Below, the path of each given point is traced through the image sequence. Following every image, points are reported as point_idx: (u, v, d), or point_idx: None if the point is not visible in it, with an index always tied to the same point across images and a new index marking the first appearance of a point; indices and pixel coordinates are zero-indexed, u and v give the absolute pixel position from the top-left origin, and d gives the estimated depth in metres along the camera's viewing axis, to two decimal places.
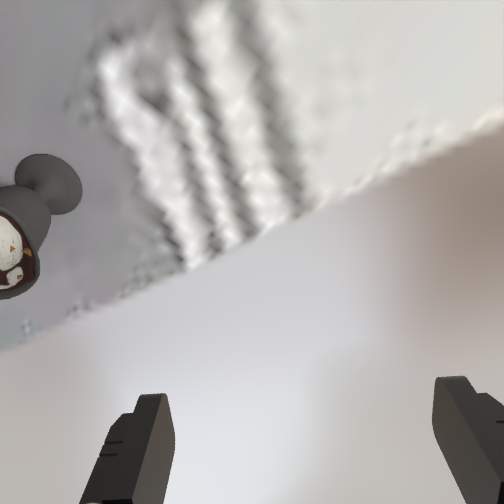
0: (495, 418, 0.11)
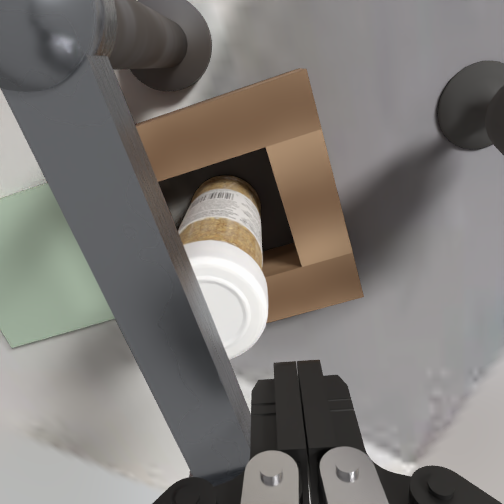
0: (335, 396, 0.13)
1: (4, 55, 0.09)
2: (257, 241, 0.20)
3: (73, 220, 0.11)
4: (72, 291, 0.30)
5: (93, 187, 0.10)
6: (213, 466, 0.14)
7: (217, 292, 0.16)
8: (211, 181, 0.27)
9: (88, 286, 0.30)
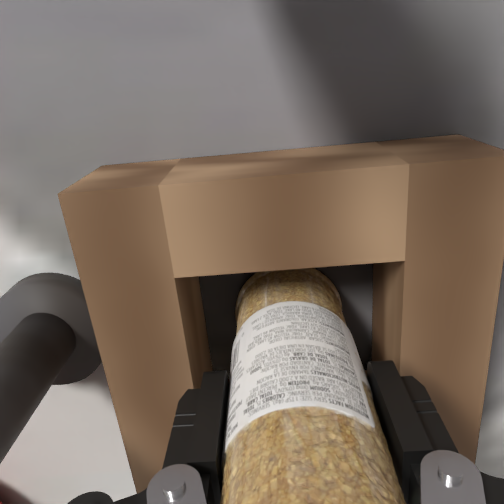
0: (414, 398, 0.12)
1: None
2: (288, 407, 0.10)
3: None
4: None
5: None
6: None
7: None
8: None
9: None
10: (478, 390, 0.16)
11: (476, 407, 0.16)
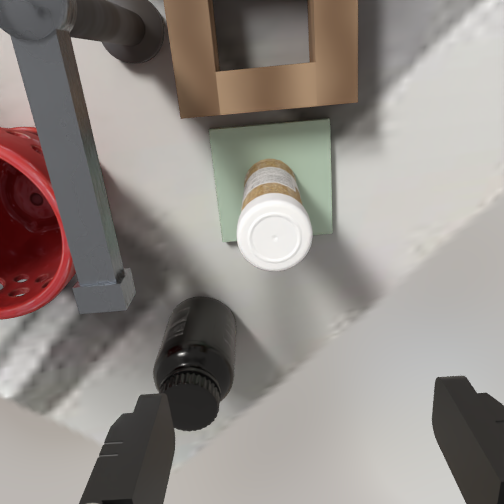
0: (495, 418, 0.11)
1: (15, 20, 0.19)
2: (265, 183, 0.30)
3: (34, 110, 0.20)
4: (297, 167, 0.38)
5: (48, 95, 0.20)
6: (90, 275, 0.24)
7: (260, 228, 0.26)
8: None
9: (296, 153, 0.37)
10: (354, 27, 0.31)
11: (354, 39, 0.31)
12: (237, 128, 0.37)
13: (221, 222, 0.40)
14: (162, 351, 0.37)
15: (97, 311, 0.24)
